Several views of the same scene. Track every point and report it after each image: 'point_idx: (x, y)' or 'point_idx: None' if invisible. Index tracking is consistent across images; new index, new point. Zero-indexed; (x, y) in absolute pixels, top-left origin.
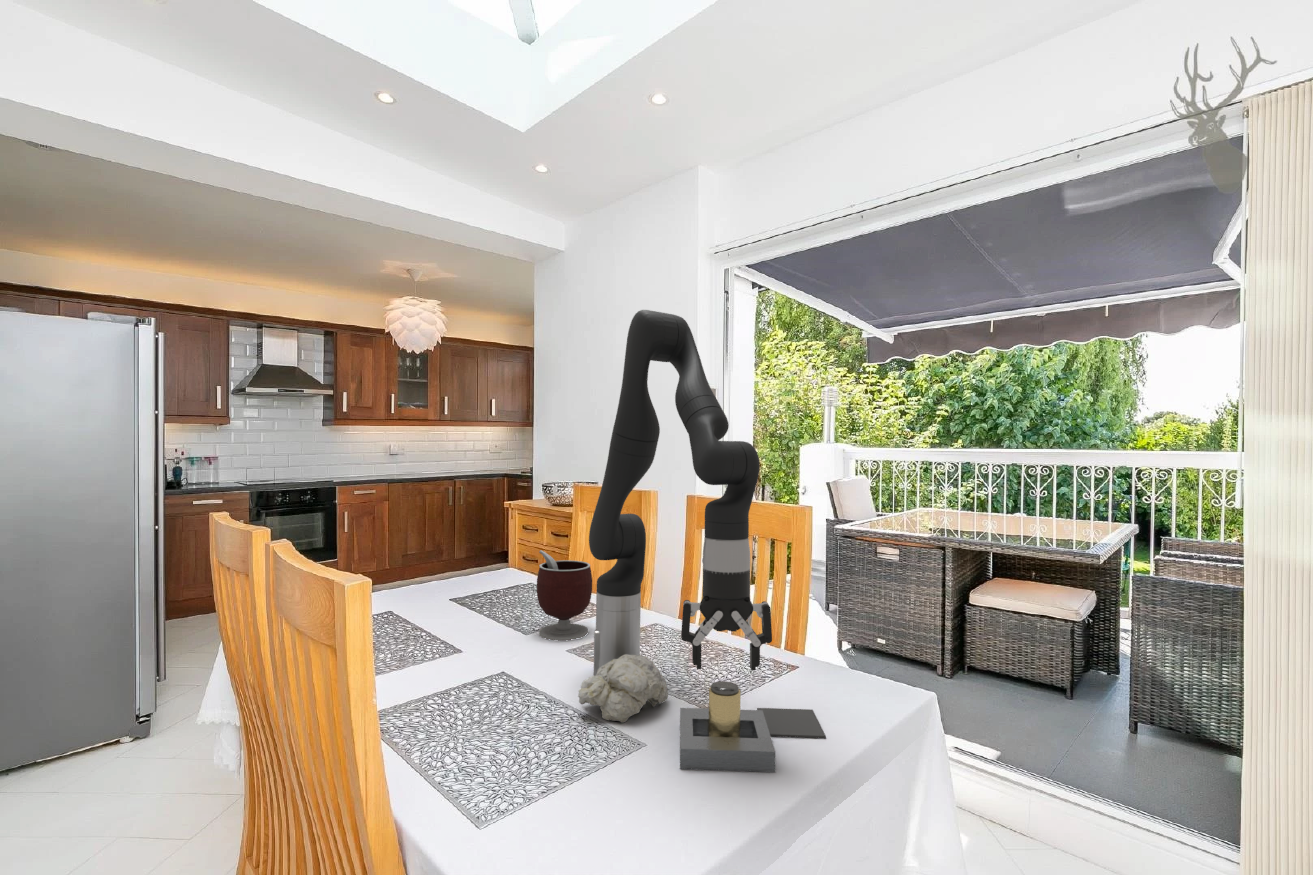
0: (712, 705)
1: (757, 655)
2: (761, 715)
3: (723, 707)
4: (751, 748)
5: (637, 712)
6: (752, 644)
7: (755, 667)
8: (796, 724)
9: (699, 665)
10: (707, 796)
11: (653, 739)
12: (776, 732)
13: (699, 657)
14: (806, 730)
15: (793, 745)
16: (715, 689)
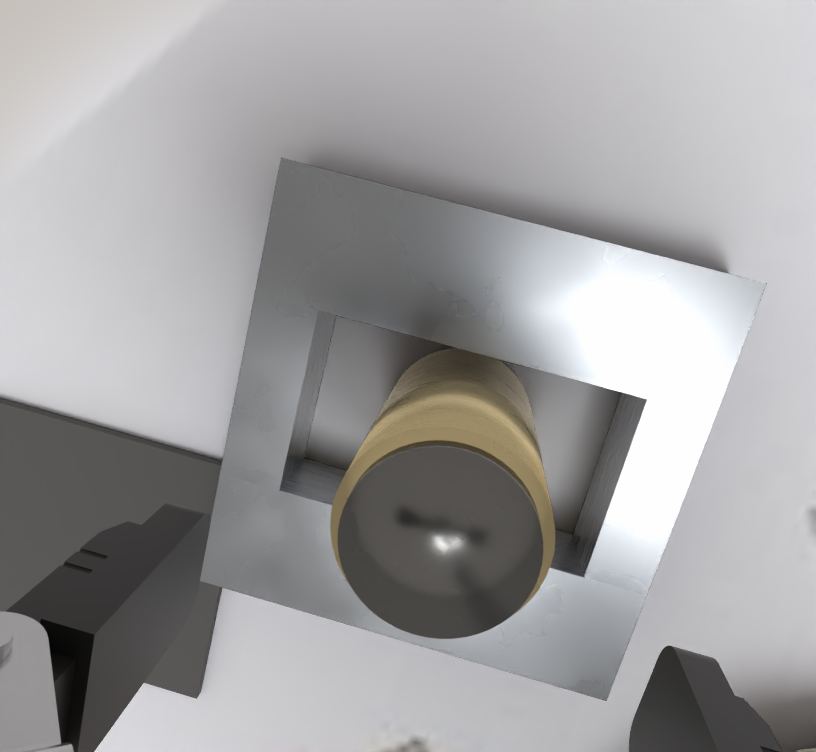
0: (541, 469)
1: (77, 578)
2: (222, 531)
3: (487, 414)
4: (389, 215)
5: (806, 749)
6: (57, 677)
7: (163, 508)
8: (76, 521)
9: (698, 664)
10: (685, 19)
11: (761, 552)
12: (186, 472)
13: (726, 721)
14: (51, 461)
15: (149, 369)
16: (526, 514)
